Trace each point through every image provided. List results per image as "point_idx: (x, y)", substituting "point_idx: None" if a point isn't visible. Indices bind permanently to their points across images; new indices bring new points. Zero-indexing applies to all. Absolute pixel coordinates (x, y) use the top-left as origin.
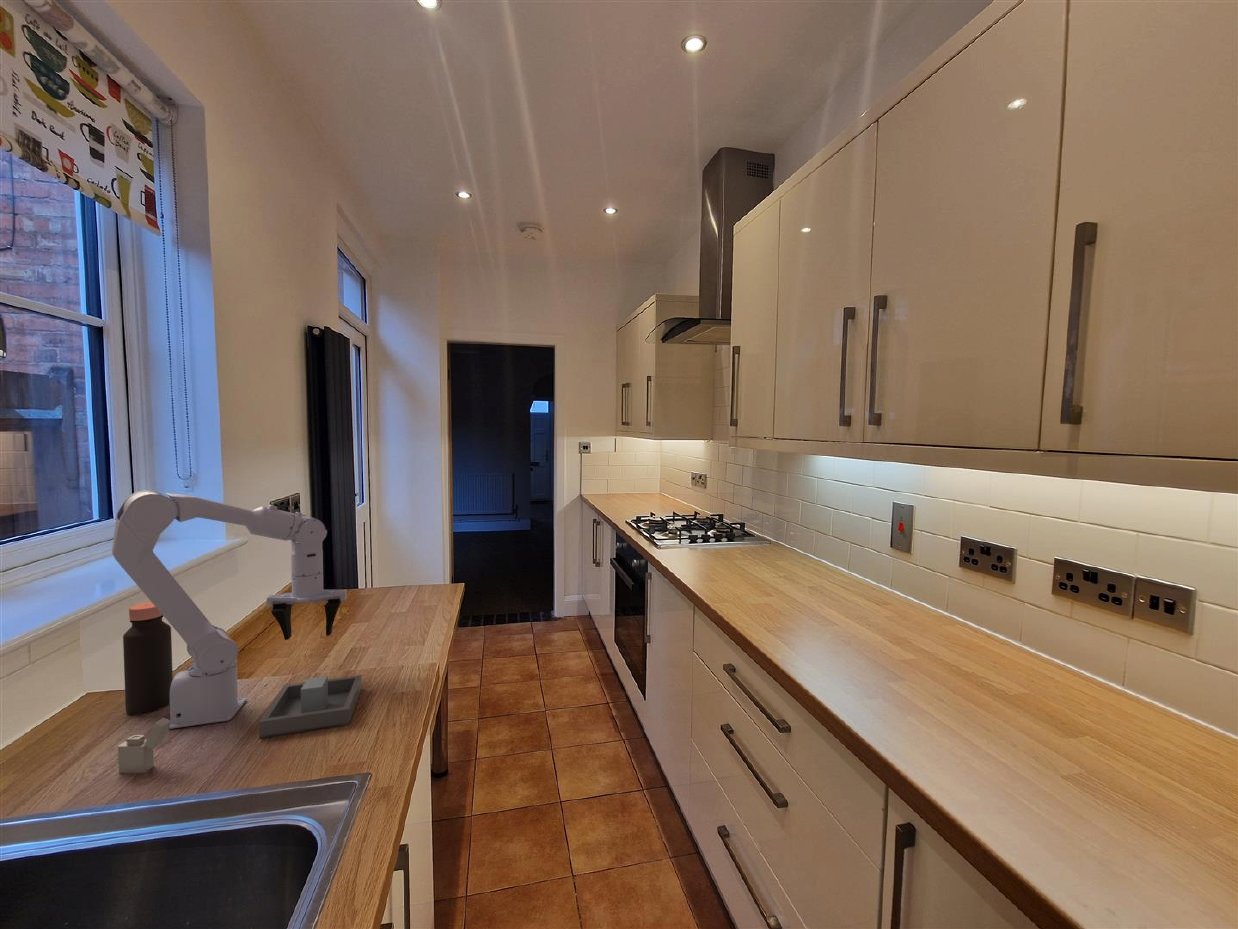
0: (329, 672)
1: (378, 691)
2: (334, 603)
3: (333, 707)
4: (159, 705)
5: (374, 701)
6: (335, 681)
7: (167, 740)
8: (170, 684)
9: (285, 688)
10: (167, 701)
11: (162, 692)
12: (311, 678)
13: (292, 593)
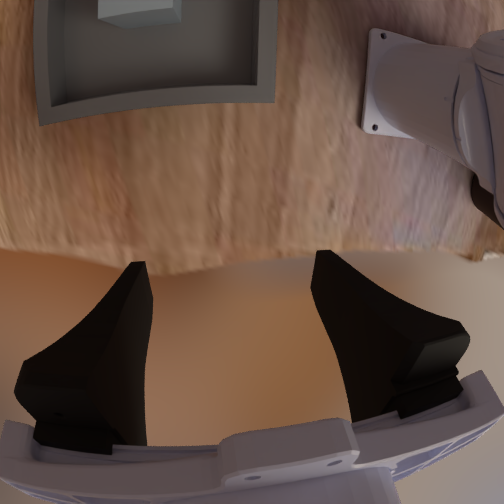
0: (184, 242)
1: (17, 100)
2: (42, 407)
3: None
4: None
5: (16, 46)
6: (108, 96)
7: (450, 14)
8: None
9: (263, 73)
10: None
11: None
12: (155, 6)
13: (396, 493)
